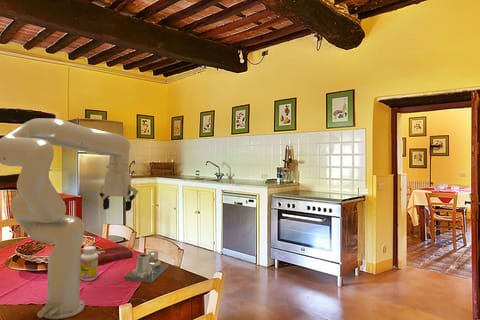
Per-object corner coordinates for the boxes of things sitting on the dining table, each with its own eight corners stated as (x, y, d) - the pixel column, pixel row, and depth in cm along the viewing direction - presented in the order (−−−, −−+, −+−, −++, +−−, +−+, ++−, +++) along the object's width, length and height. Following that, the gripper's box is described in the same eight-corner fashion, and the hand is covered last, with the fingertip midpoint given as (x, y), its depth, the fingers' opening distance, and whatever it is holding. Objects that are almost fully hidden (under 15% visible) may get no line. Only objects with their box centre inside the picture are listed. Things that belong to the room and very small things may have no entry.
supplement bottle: (76, 279, 138) (77, 248, 138) (90, 274, 144) (90, 244, 144) (87, 282, 135) (88, 250, 135) (100, 277, 141) (101, 247, 140)
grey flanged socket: (147, 278, 138) (147, 259, 137) (129, 276, 139) (130, 257, 138) (154, 272, 145) (155, 253, 145) (137, 270, 146) (138, 252, 146)
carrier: (152, 282, 137) (152, 264, 137) (124, 280, 139) (125, 262, 139) (168, 267, 156) (169, 251, 156) (143, 265, 158) (144, 249, 157)
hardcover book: (133, 258, 168) (133, 250, 168) (89, 266, 154) (89, 257, 154) (123, 252, 177) (123, 244, 177) (81, 260, 163) (81, 251, 163)
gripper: (94, 167, 136) (92, 209, 136) (134, 169, 133) (132, 212, 133) (104, 167, 143) (102, 207, 143) (142, 169, 140) (140, 209, 140)
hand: (117, 209), depth 138 cm, fingers open, 9 cm apart
